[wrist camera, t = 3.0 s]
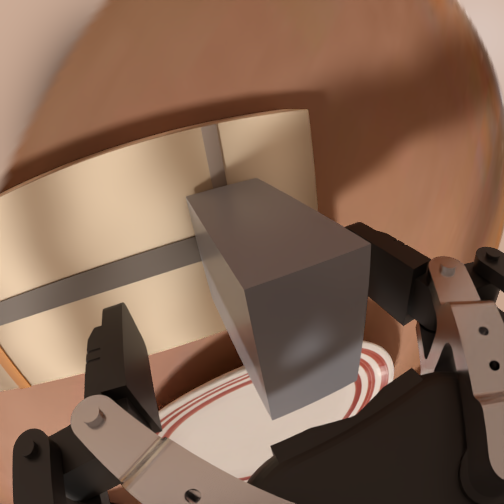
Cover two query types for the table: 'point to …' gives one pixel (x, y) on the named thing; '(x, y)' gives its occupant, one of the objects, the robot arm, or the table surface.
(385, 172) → the table surface
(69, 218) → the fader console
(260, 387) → the fader tab
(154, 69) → the table surface
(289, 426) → the dinner plate
